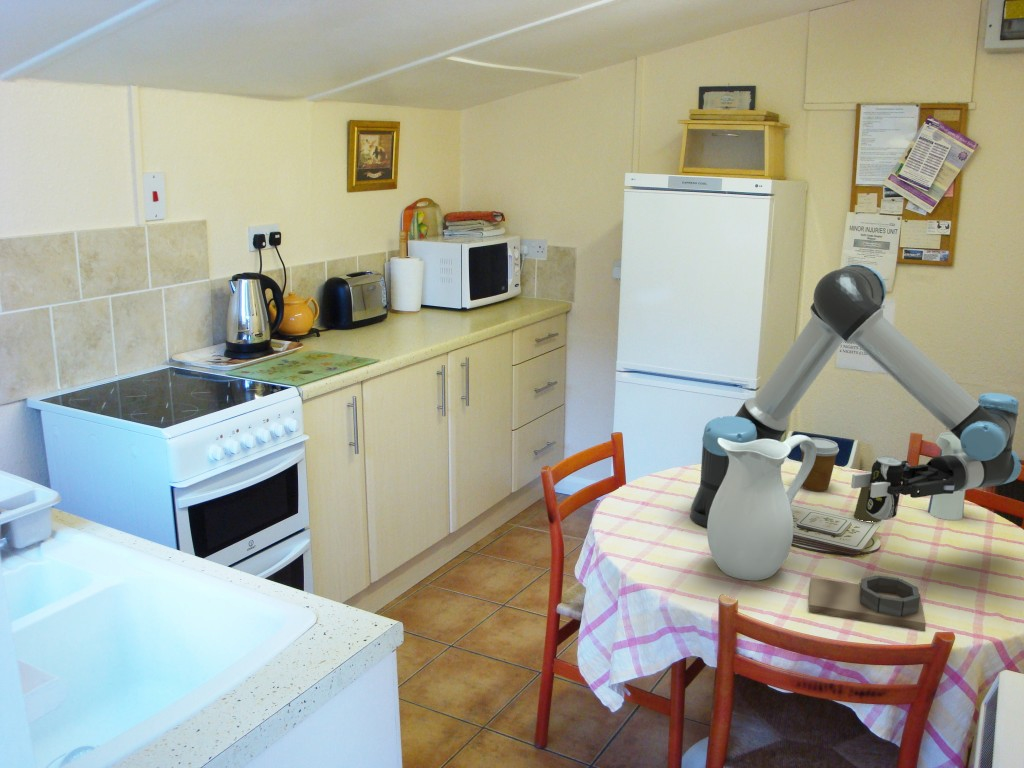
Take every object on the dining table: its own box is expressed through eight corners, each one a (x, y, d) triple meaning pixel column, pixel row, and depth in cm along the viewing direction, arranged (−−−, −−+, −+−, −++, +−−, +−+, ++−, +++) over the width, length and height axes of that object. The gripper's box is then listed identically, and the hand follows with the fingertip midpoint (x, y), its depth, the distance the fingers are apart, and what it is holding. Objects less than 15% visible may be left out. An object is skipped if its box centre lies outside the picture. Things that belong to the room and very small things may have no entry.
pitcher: (737, 594, 177) (749, 457, 170) (688, 559, 192) (696, 432, 185) (833, 573, 187) (848, 443, 180) (779, 541, 202) (790, 420, 195)
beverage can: (893, 524, 179) (902, 467, 176) (862, 517, 182) (871, 461, 178) (897, 513, 184) (907, 458, 180) (868, 506, 187) (876, 452, 183)
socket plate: (808, 611, 171) (810, 589, 170) (810, 584, 182) (812, 563, 181) (924, 630, 165) (927, 607, 163) (919, 600, 176) (921, 579, 174)
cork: (876, 513, 218) (882, 469, 216) (884, 523, 213) (889, 478, 210) (850, 512, 219) (855, 468, 216) (857, 522, 213) (862, 477, 210)
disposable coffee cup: (834, 483, 238) (839, 439, 235) (834, 496, 229) (839, 450, 226) (796, 478, 241) (801, 435, 238) (795, 491, 232) (799, 446, 229)
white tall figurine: (968, 523, 213) (983, 420, 207) (928, 517, 216) (941, 416, 210) (964, 510, 221) (978, 411, 215) (925, 505, 224) (938, 407, 217)
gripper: (986, 505, 181) (893, 520, 172) (917, 476, 197) (830, 488, 188) (991, 469, 179) (898, 483, 171) (922, 442, 195) (833, 454, 186)
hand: (862, 486), depth 179 cm, fingers closed on beverage can, 5 cm apart
